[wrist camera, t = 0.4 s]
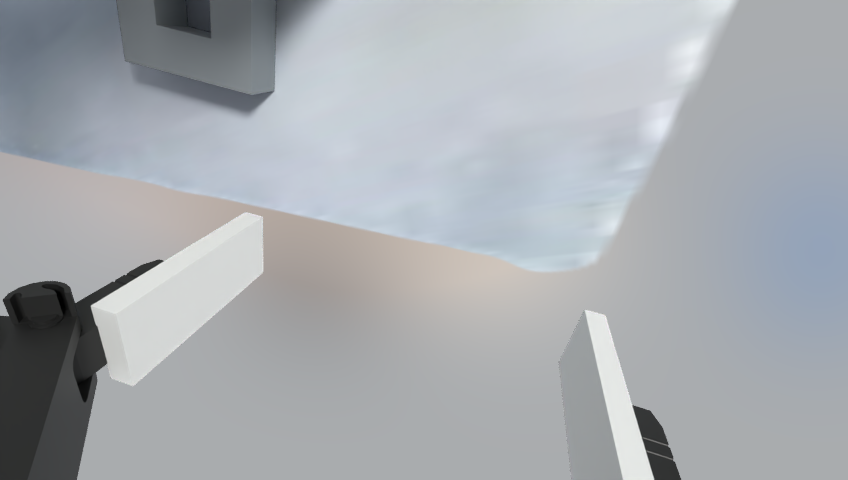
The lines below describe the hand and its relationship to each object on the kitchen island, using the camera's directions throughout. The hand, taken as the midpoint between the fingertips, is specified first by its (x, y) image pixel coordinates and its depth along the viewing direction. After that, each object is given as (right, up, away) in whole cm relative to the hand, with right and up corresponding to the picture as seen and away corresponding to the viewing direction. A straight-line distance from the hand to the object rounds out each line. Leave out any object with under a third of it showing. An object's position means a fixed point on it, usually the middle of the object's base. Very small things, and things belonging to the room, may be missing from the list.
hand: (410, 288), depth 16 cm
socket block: (-21, +26, +23) cm, 40 cm away
